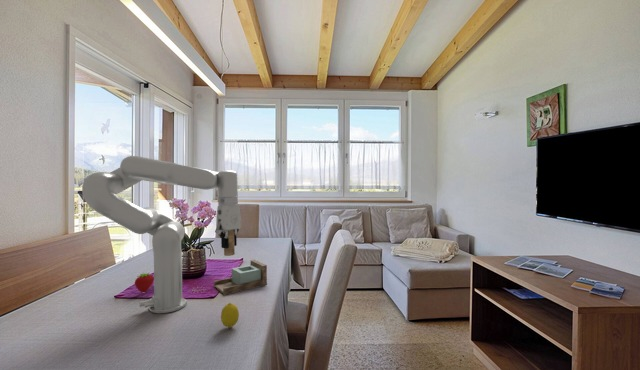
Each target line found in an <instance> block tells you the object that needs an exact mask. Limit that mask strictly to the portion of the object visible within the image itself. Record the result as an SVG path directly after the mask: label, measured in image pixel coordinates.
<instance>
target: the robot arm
mask: <svg viewBox="0 0 640 370" xmlns="http://www.w3.org/2000/svg"><path fill="white" fill-rule="evenodd" d="M142 181H144V182H145V181H146V182H151V183H152V182H153V183H158V184H161V185H162V184H163V185H170V186H173V185H174V186H180V187H187V188H193V189H198V190H206V191H207V190H212V189H217V203H218V204H217V208H216V220H215V221H216V224H215V225H216V229H215V231H214V232H215V234H217V235H218V236H219V238H220V240H221V241H220V245H221V248H222V249H224V248H229V239H228V238H227V236H228V231H229V230H234V247H236V246H238V244H237V243H238V242H237V241H238V240H237V238H238V233H239V230H240V229H241V228H242V215H241V208H240V204H239V202H238V200H239V198H238V195H239V194H238V191H239V190H238V173H237V172H236V171H234V170H220V171H212V170H210V169H204V168H200V167H193V166H189V165H184V164H183V165H182V164H178V163H176V162H171V161H165V160H160V159H154V158H148V157H144V156H138V155H129V156H126V157H124V158H123V159H122V160H121V162H120V166H119V167H118V168H116V169H114V170H112V171H110V172H107V171H99V172H93V173H91V174H89V175H88V176H87V177H86V178H85V179H84V181H83V183H82V186H81V187H82V188H81V193H82V196H83V199H84V201H85V203H86V204H87V205H88V206H89V207H90V208H91V209H92V210H93V211H95V212H96V213H98V214H100V215H102V216H104V217H106V218H107V219H109V220H111V221H112V222H115V223H116V224H118V225H120V226H121V227H123V228H125V229H127V230H129V231H130V232H131V233H132V232H133V233H134V234H136V235H144V234H149V235H151V236H152V241H151V242H152V243H151V244H152V253H153V277H154V281H153V295H151V298H148V300H141V301H139V307H140V308H141V307H144V308H148V307H149V309H148V310H149V312H151V313H153V314H167V313H171V312H172V313H173V312H175V311H178V310H181V309H183V308H185V306H186V305H187V302H188V301H187V299H186V298H184V297H183V258H182V257H183V254H182V240H183V239H184V237H185V233H186V231H185V228H184V226H183V224H181V222H179V221H178V220H176V219H174V218H172V217H170V216H169V215H167V214H165V213H163V212H161V211H160V210H158V209H155V208H153V207H141V206H138V205H136V204H135V203H132V202H131V201H129V200H128V199H126V198H123V197H121V196H119V195H118V194H120V193H122V192H123V191H126V190H128V189H129V188H131V187H134V186H135V185H136V184H138V183H140V182H142ZM224 232H225V234H224Z"/></svg>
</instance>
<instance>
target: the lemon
mask: <svg viewBox="0 0 640 370" xmlns="http://www.w3.org/2000/svg"><path fill="white" fill-rule="evenodd" d="M239 317H240V313H239V309H238V307H237V305H236V304H234V303H231V302H229V303H228V304H225V305H224V306H223V308H222V309H221V314H220V320H221V323H222V325H223V326H224V327H227V328H229V329H231V328H232V327H234V326H235V325H236V324H237V323H238V321H239Z"/></svg>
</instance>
